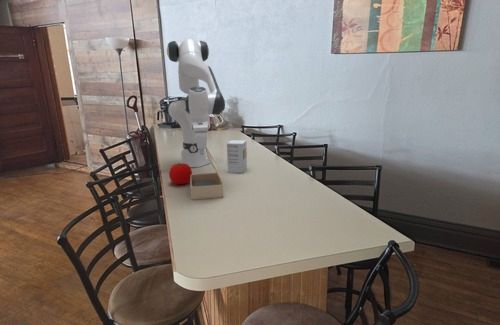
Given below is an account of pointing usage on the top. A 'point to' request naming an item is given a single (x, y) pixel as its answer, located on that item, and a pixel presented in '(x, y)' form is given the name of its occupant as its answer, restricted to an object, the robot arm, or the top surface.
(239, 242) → the top surface
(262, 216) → the top surface
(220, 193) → the box
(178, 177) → the tomato
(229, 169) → the supplement box
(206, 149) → the lid
